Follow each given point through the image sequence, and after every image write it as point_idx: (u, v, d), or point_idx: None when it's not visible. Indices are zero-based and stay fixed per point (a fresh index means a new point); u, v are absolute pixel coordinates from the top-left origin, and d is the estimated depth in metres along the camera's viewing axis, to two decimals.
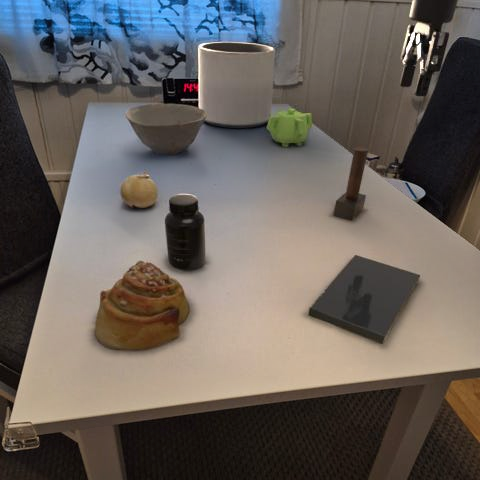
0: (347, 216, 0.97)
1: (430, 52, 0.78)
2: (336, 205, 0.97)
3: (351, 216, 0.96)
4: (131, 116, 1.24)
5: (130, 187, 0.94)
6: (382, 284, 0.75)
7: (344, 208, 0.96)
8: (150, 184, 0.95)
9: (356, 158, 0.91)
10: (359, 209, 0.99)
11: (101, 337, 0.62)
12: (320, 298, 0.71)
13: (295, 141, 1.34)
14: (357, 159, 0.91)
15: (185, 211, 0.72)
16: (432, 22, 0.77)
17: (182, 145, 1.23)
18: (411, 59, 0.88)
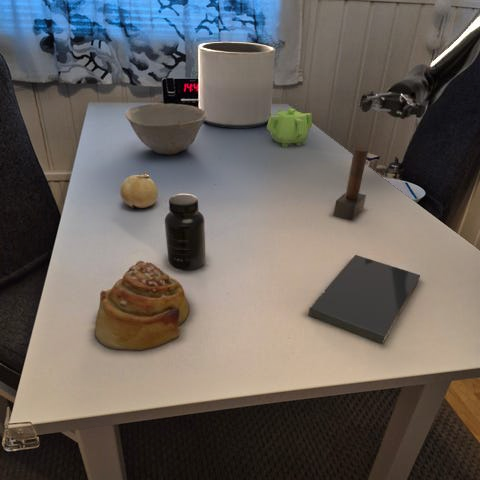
0: (347, 216, 0.97)
1: None
2: (336, 205, 0.97)
3: (351, 216, 0.96)
4: (131, 116, 1.24)
5: (130, 187, 0.94)
6: (382, 284, 0.75)
7: (344, 208, 0.96)
8: (150, 184, 0.95)
9: (356, 158, 0.91)
10: (359, 209, 0.99)
11: (101, 337, 0.62)
12: (320, 298, 0.71)
13: (295, 141, 1.34)
14: (357, 159, 0.91)
15: (185, 211, 0.72)
16: None
17: (182, 145, 1.23)
18: None
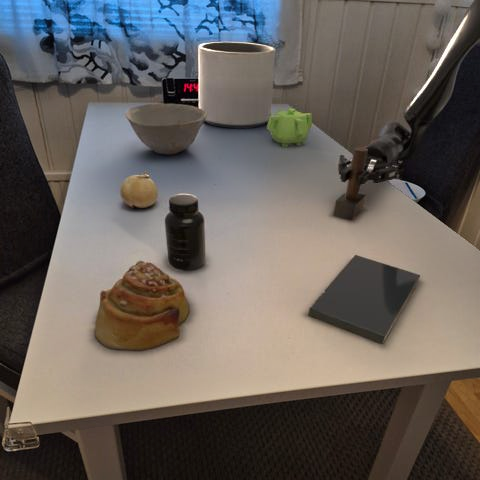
0: (347, 216, 0.97)
1: None
2: (336, 205, 0.97)
3: (351, 216, 0.96)
4: (131, 116, 1.24)
5: (130, 187, 0.94)
6: (382, 284, 0.75)
7: (344, 208, 0.96)
8: (150, 184, 0.95)
9: (356, 158, 0.91)
10: (359, 209, 0.99)
11: (101, 337, 0.62)
12: (320, 298, 0.71)
13: (295, 141, 1.34)
14: (357, 159, 0.91)
15: (185, 211, 0.72)
16: None
17: (182, 145, 1.23)
18: None
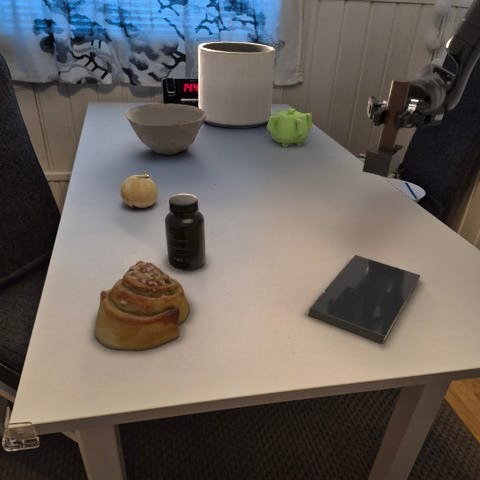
0: (381, 172, 0.75)
1: None
2: (366, 157, 0.75)
3: (386, 171, 0.75)
4: (131, 116, 1.24)
5: (130, 187, 0.94)
6: (382, 284, 0.75)
7: (377, 161, 0.75)
8: (150, 184, 0.95)
9: (395, 92, 0.70)
10: (395, 164, 0.77)
11: (101, 337, 0.62)
12: (320, 298, 0.71)
13: (295, 141, 1.34)
14: (397, 93, 0.70)
15: (185, 211, 0.72)
16: None
17: (182, 145, 1.23)
18: None
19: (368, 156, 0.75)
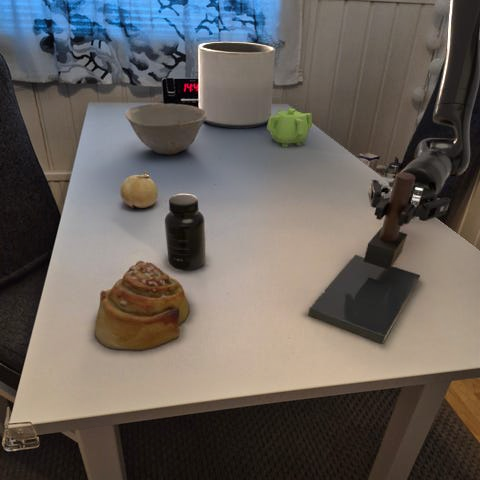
0: (383, 264, 0.72)
1: None
2: (368, 249, 0.72)
3: (388, 264, 0.71)
4: (131, 116, 1.24)
5: (130, 187, 0.94)
6: (382, 284, 0.75)
7: (379, 254, 0.71)
8: (150, 184, 0.95)
9: (399, 188, 0.66)
10: (398, 253, 0.74)
11: (101, 337, 0.62)
12: (320, 298, 0.71)
13: (295, 141, 1.34)
14: (400, 189, 0.66)
15: (185, 211, 0.72)
16: None
17: (182, 145, 1.23)
18: None
19: (370, 248, 0.72)
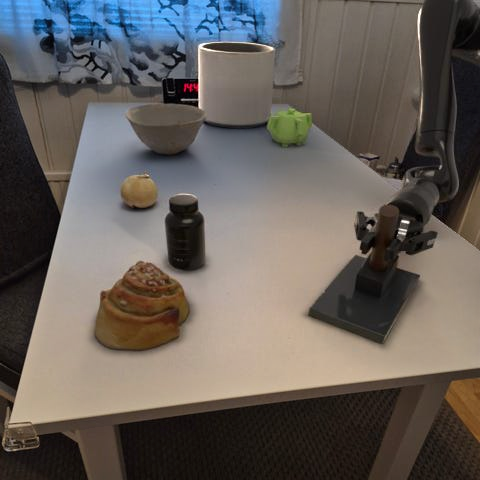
0: (373, 292, 0.71)
1: None
2: (357, 279, 0.71)
3: (379, 293, 0.71)
4: (131, 116, 1.24)
5: (130, 187, 0.94)
6: None
7: (368, 284, 0.71)
8: (150, 184, 0.95)
9: (382, 224, 0.64)
10: (390, 277, 0.72)
11: (101, 337, 0.62)
12: (320, 298, 0.71)
13: (295, 141, 1.34)
14: (384, 226, 0.64)
15: (185, 211, 0.72)
16: None
17: (182, 145, 1.23)
18: None
19: (359, 278, 0.71)
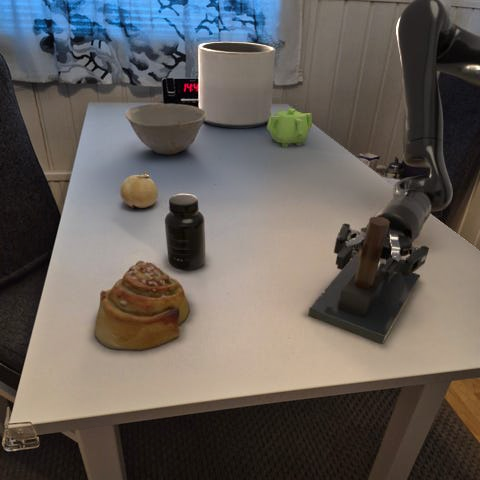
0: (358, 312, 0.67)
1: None
2: (342, 296, 0.67)
3: (364, 313, 0.67)
4: (131, 116, 1.24)
5: (130, 187, 0.94)
6: None
7: (353, 301, 0.67)
8: (150, 184, 0.95)
9: (372, 234, 0.62)
10: (374, 299, 0.69)
11: (101, 337, 0.62)
12: (320, 298, 0.71)
13: (295, 141, 1.34)
14: (374, 236, 0.62)
15: (185, 211, 0.72)
16: None
17: (182, 145, 1.23)
18: None
19: (343, 295, 0.67)
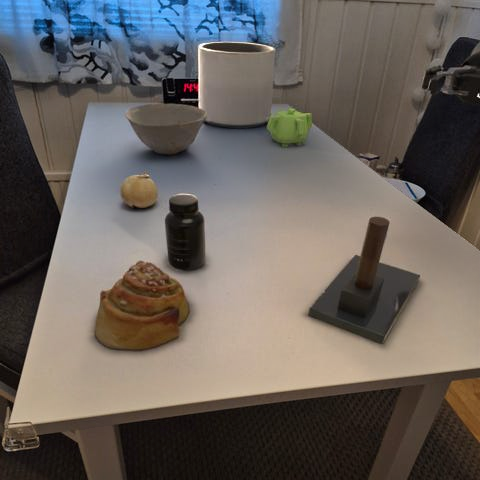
0: (358, 312, 0.67)
1: None
2: (342, 296, 0.67)
3: (364, 313, 0.67)
4: (131, 116, 1.24)
5: (130, 187, 0.94)
6: None
7: (353, 301, 0.67)
8: (150, 184, 0.95)
9: (372, 234, 0.62)
10: (374, 299, 0.69)
11: (101, 337, 0.62)
12: (320, 298, 0.71)
13: (295, 141, 1.34)
14: (374, 236, 0.62)
15: (185, 211, 0.72)
16: None
17: (182, 145, 1.23)
18: None
19: (343, 295, 0.67)
